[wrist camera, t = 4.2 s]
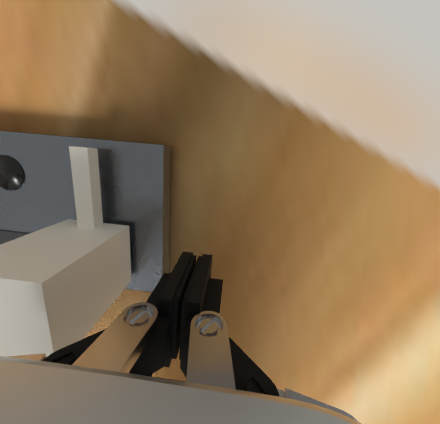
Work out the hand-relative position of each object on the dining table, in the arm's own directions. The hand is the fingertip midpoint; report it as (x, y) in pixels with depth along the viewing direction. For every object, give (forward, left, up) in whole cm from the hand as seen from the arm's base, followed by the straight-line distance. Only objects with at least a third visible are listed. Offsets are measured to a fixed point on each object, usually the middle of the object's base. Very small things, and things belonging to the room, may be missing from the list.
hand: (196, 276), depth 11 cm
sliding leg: (+2, +7, -2) cm, 7 cm away
